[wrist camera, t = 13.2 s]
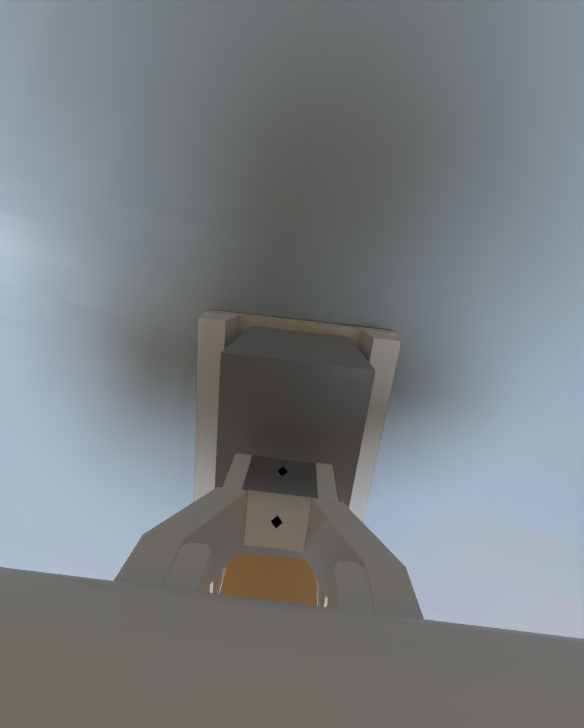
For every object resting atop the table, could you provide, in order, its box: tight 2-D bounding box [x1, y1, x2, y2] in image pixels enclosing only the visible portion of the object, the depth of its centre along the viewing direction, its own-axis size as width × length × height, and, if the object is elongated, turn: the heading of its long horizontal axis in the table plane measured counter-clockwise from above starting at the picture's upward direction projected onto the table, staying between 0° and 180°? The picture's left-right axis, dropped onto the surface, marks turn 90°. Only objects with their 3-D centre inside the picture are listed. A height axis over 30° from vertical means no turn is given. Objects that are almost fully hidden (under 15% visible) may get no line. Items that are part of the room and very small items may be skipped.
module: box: [215, 326, 376, 560], centre depth 13 cm, size 8×5×6 cm, turn 174°
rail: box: [194, 310, 402, 607], centre depth 16 cm, size 18×10×6 cm, turn 174°
